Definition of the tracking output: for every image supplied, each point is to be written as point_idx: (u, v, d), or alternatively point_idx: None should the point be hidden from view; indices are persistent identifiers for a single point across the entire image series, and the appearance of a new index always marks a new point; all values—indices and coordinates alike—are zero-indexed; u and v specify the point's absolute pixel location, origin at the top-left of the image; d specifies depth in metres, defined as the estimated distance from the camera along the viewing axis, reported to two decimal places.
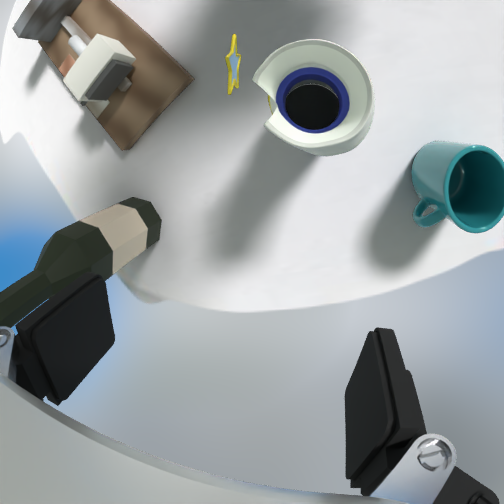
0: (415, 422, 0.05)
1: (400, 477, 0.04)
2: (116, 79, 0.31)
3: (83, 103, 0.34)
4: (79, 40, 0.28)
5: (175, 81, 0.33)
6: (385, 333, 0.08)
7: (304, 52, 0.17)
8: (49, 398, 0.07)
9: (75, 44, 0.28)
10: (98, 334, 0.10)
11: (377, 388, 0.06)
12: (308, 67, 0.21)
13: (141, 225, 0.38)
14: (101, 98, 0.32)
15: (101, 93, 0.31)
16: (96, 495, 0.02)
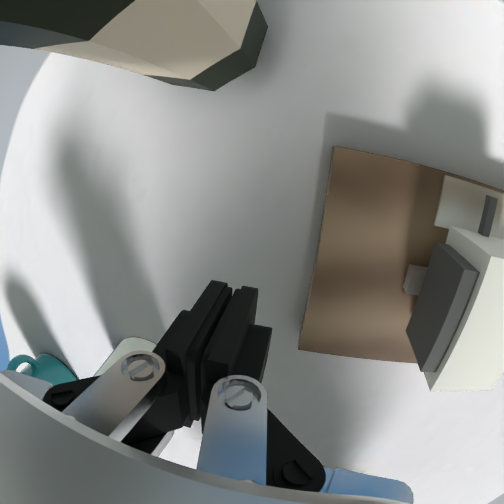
0: (226, 359, 0.07)
1: (217, 428, 0.05)
2: (424, 309, 0.15)
3: (490, 201, 0.13)
4: None
5: (315, 333, 0.20)
6: (246, 290, 0.10)
7: None
8: None
9: None
10: None
11: None
12: None
13: (144, 72, 0.13)
14: (442, 256, 0.13)
15: (443, 275, 0.13)
16: (96, 495, 0.02)
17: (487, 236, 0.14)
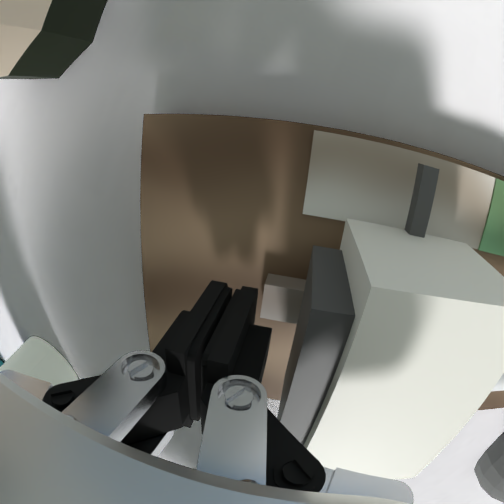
0: (226, 359, 0.07)
1: (216, 428, 0.05)
2: (292, 354, 0.10)
3: (424, 174, 0.08)
4: None
5: None
6: (246, 290, 0.10)
7: None
8: None
9: None
10: None
11: None
12: None
13: None
14: (310, 272, 0.09)
15: (304, 308, 0.08)
16: (96, 495, 0.02)
17: (420, 236, 0.09)
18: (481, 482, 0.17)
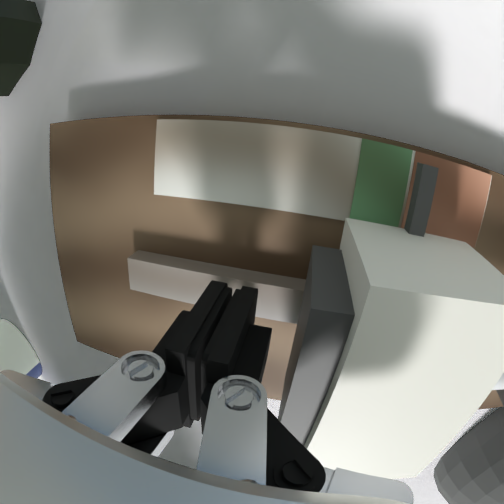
0: (226, 359, 0.07)
1: (217, 427, 0.05)
2: (292, 354, 0.10)
3: (423, 173, 0.08)
4: None
5: (81, 325, 0.17)
6: (246, 290, 0.10)
7: None
8: None
9: None
10: None
11: None
12: None
13: None
14: (310, 272, 0.09)
15: (304, 307, 0.08)
16: (96, 495, 0.02)
17: (420, 235, 0.09)
18: (440, 491, 0.18)
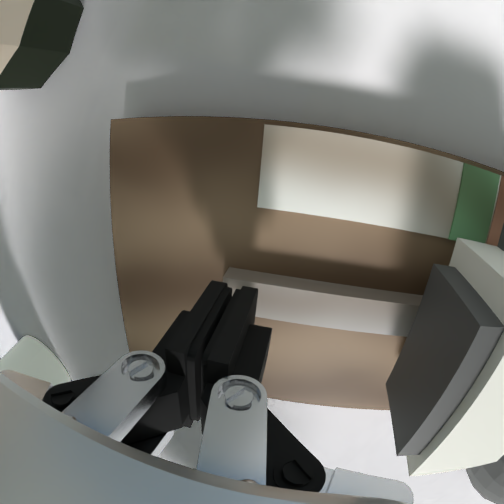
0: (226, 359, 0.07)
1: (216, 427, 0.05)
2: (411, 366, 0.09)
3: None
4: None
5: (141, 347, 0.16)
6: (246, 290, 0.10)
7: None
8: None
9: None
10: None
11: None
12: None
13: None
14: (444, 290, 0.08)
15: (443, 323, 0.08)
16: (96, 495, 0.02)
17: None
18: (473, 483, 0.17)
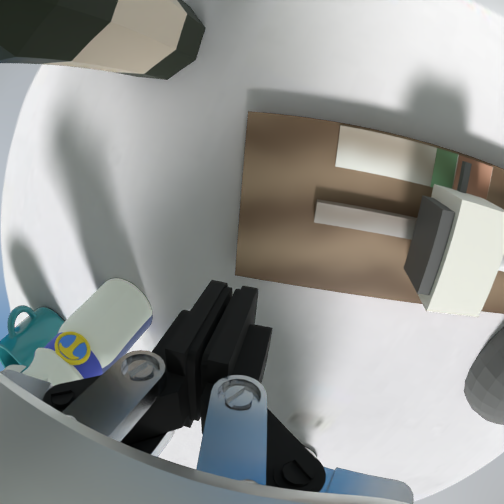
0: (226, 359, 0.07)
1: (217, 428, 0.05)
2: (416, 247, 0.20)
3: (465, 165, 0.18)
4: None
5: (246, 260, 0.26)
6: (246, 290, 0.10)
7: None
8: None
9: None
10: None
11: None
12: None
13: (113, 71, 0.19)
14: (428, 204, 0.18)
15: (429, 218, 0.18)
16: (96, 495, 0.02)
17: (464, 192, 0.18)
18: (471, 401, 0.28)
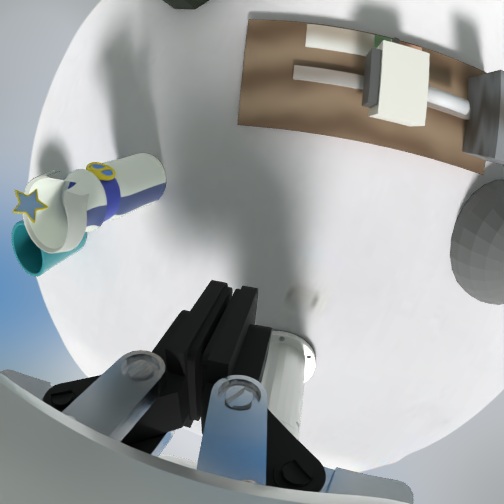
0: (226, 359, 0.07)
1: (216, 428, 0.05)
2: (365, 83, 0.26)
3: (394, 40, 0.24)
4: (454, 109, 0.24)
5: (246, 111, 0.33)
6: (246, 290, 0.10)
7: None
8: None
9: (454, 102, 0.23)
10: None
11: None
12: None
13: None
14: (367, 56, 0.25)
15: (368, 61, 0.24)
16: (96, 495, 0.02)
17: None
18: (460, 273, 0.34)
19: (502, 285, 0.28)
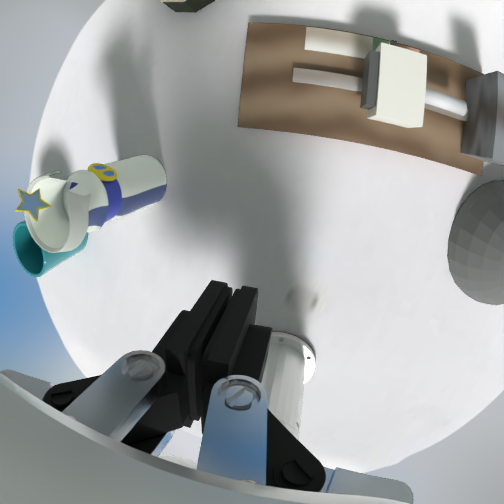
0: (226, 359, 0.07)
1: (216, 427, 0.05)
2: (363, 86, 0.27)
3: (392, 42, 0.25)
4: (452, 110, 0.24)
5: (246, 114, 0.33)
6: (246, 290, 0.10)
7: None
8: None
9: (451, 103, 0.24)
10: None
11: None
12: None
13: None
14: (365, 58, 0.25)
15: (366, 63, 0.25)
16: (96, 495, 0.02)
17: None
18: (457, 274, 0.34)
19: (500, 285, 0.28)
